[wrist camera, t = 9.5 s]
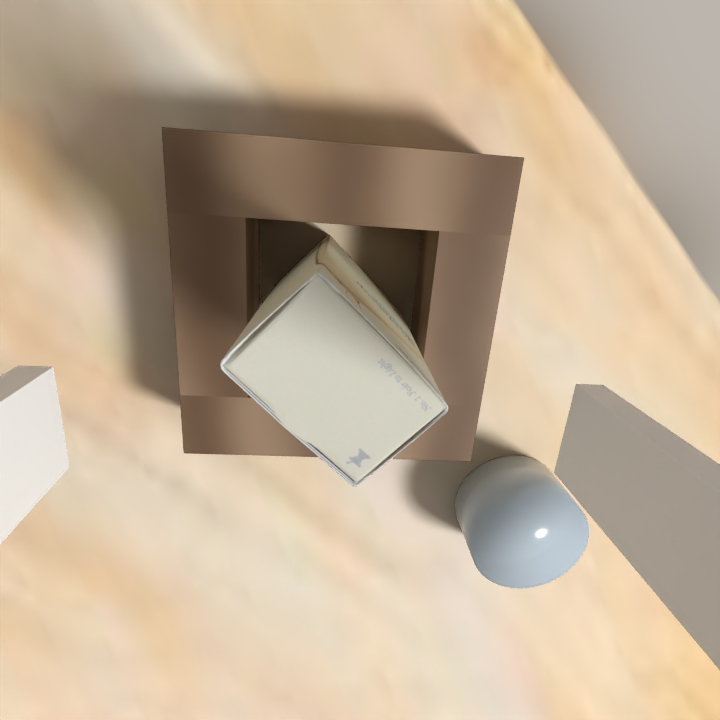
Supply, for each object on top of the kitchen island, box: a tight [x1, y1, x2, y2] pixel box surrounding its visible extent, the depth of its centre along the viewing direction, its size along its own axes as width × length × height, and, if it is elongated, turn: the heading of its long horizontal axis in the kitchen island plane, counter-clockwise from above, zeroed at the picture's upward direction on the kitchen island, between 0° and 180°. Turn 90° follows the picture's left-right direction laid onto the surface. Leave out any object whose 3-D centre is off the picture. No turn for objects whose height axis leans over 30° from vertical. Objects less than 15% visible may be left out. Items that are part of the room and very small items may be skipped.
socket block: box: [162, 127, 524, 461], centre depth 24 cm, size 15×15×4 cm
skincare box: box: [220, 235, 448, 487], centre depth 20 cm, size 6×4×12 cm
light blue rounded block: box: [455, 455, 589, 588], centre depth 29 cm, size 7×7×4 cm
